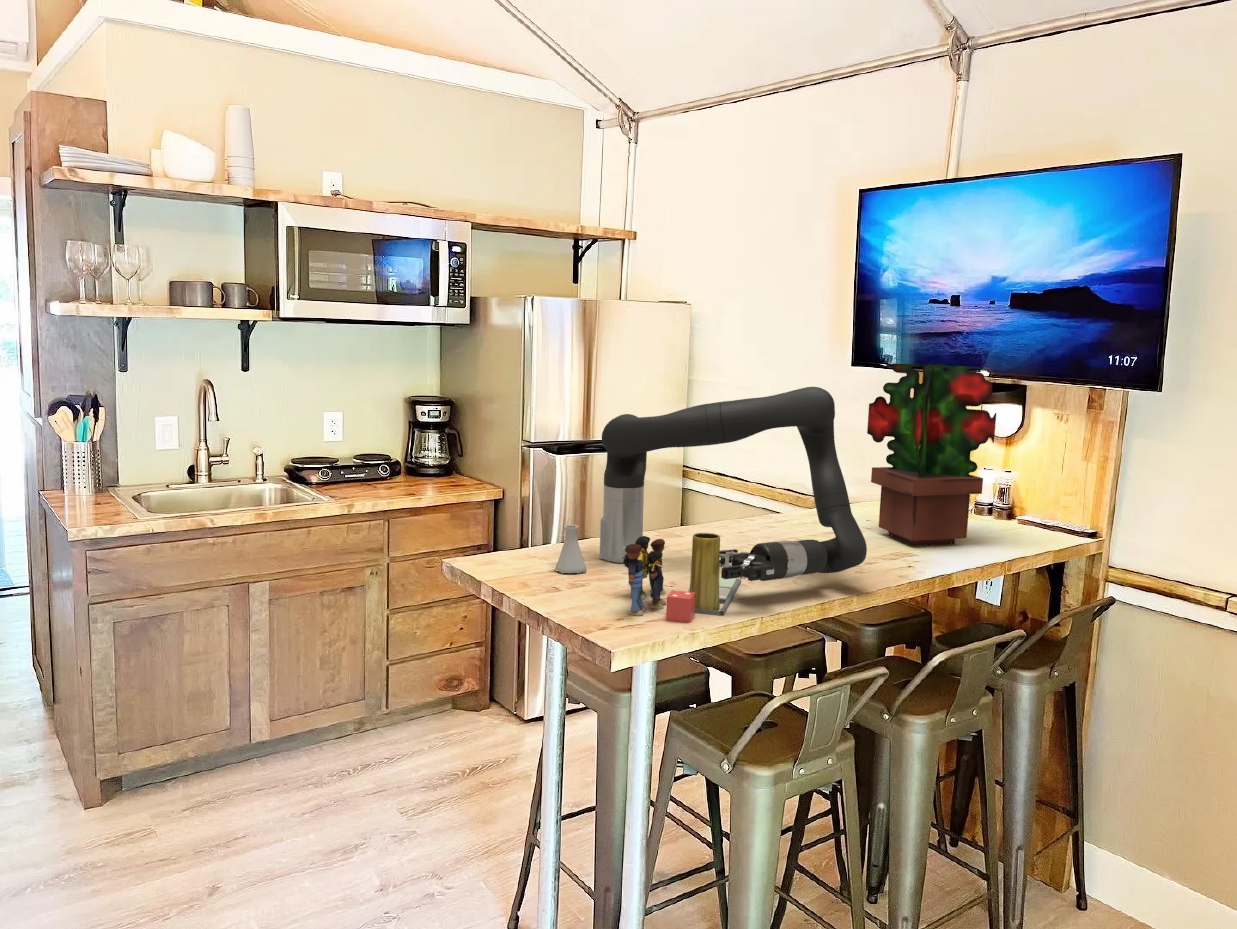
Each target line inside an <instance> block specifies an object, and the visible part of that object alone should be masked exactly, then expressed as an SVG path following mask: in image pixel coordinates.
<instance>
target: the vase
mask: <svg viewBox="0 0 1237 929" xmlns="http://www.w3.org/2000/svg"><path fill="white" fill-rule="evenodd" d="M691 542H692V548H691V549H692V550H691V560H690V561H691V564H690V578H689V579H690V580H689V581H690V583H689V589H690V592H695V608H696V609H706V610H716V611H719V609H720V606H721V605H720V604H721V603H719V577H720V567H719V560H720V551H721V549H720V548H721V535H720V534H717V533H711V532H696V533H693V535H692V541H691Z"/></svg>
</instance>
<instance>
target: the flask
mask: <svg viewBox="0 0 1237 929" xmlns="http://www.w3.org/2000/svg"><path fill="white" fill-rule="evenodd" d="M563 529H564V530H565V531H564V533H565V535H564V541H563V545H562V548H561V551H560V554H559V556H558V559H557V562H556V564H555V567H554V571H555V570H558V571H559V572H561V573H560V574H563V573H577V574H582V572H583V573H587V569H586V568H587V565H586V563H585V560H584V557H583V553H582V550H581V547H580V545H579V539H578V538H579V537H578V530H579V526H578V524H577V525H576V524H567V525H566V524H565V525H564V527H563ZM559 572H558V573H559Z"/></svg>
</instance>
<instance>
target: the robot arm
mask: <svg viewBox="0 0 1237 929" xmlns="http://www.w3.org/2000/svg"><path fill="white" fill-rule="evenodd" d="M835 417H836V407H835V400H834V397H833V396H832V395H831V393H830V392H829V391H827V390H826V389H825V388H823V387H819V386H806V387H802V388H797V389H794V390H790V391H785V392H781V393H778V394H773V395H767V396H760V397H749V398H743V399H735V400H724V401H717V402H711V403H703V404H699V405H693V406H690V407H687V408H683V409H680V410H676V411H673V412H670V413H666V414H662V415H655V416H642V417H639V416H638V415H634V414H632V413H631V414H630V413H625V414H620V415H618V416H615V417H614V418H612V419H611V420H609V421H608V422H607V423H606V425H605V426H604V427H603V430H602V432H601V433H602V434H601V442H602V446H603V448H605V450H606V451H607V454H606V464H605V465H606V466H605V470H604V473H603V508H602V511H603V512H602V514H603V516H602V517H601V518H600V520H599V521H600V525H599V526H600V528H599V531H600V532H599V533H600V534H599V560H603V559H604V560H605V561H608V562H611V561H612V562H611V563H622V564H623V561H624V558H625V557H624V556H625V555H626V554H627V552H625V549H624V548H623V547H626V546H628V545H630V544H635V542H636V540H637V539H638V538H639V537H641V536H644V502H645V501H644V498H645V475H646V473H647V472H646V471H647V456H648V455H647V454H648V452H653V451H656V450H663V449H670V448H689V447H690V448H694V447H704V446H715V445H721V444H729V443H735V442H739V441H741V440H745V439H747V438H749V437H752V436H754V435H757V434H759V433H761V432H764V431H767V430H768V431H769V430H772V429H780V428H791V427H793V428H795V427H796V428H797V430H798V432H799V436H800V438H801V440H802V443H803V446H804V449H805V453H806V457H807V460H808V465H809V466H808V467H809V472H810V478H811V480H810V481H811V487H812V493H813V500H814V504H815V510H816V515H817V518H818V521H819V524H820V525H821V526H823V527H824V528H831V529H832V532H833V533H834V536H835V537H833V538H830V539H826V540H823V541H819V540H816V539H802V540H801V539H800V540H777V541H770V542H760V543H756V544H755V545H754V546H752V549H751V550H750V551H749V552H748V551H740V552H739V550H738V549H735V548H734V549H723V550H722V549H721V550H720V557H719V568H721V574H720V575H721V576H720V577H722V578H723V579H732V578H737V579H741V580H745V579H747V580H748V581H749V582H754V581H761V582H767V581H775V580H783V579H790V578H794V577H798V576H803V575H812V574H835V573H839V572H840V573H841V572H844V571H846V570H848V569H849V570H850V569H853V568H856V567H857V566H859V565H862V564H863V563H864V562H865V560H866V558H867V552H868V549H867V548H868V547H867V541H866V538H865V536H864V534H863V532H862V530H861V529H860V526H859V525H858V521H856V518H855V517H854V515H853V512H852V508H851V504H850V499H849V493H848V489H847V485H846V482H845V478H844V475H843V471H842V468H841V466H840V462H839V459H838V454H837V450H836V442H835ZM623 557H624V558H623ZM622 558H623V559H622ZM604 560H603V561H604ZM730 564H731V565H730Z"/></svg>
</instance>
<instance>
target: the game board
mask: <svg viewBox="0 0 1237 929" xmlns="http://www.w3.org/2000/svg"><path fill="white" fill-rule="evenodd" d="M741 583H742V579H741V578H732V579H723V578H722V577H721V576H719V604H723V605H722V607H721V608H720V610H706V609H696V608H695V614H704V615H713V616H714V615H715V616H722V617H723V616H725V614H726V612H727V610H728V608H729V607H730V604H731V603H732V601H733V598H734V597H735V595H736V592H737V591H738V589H739V587H740V585H741ZM687 592H690V588H689V589H688V590H687Z"/></svg>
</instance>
